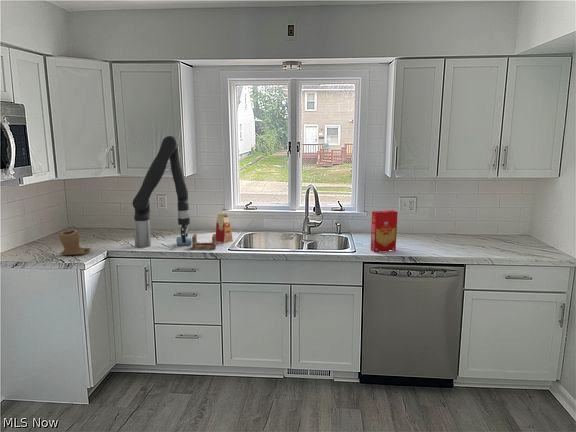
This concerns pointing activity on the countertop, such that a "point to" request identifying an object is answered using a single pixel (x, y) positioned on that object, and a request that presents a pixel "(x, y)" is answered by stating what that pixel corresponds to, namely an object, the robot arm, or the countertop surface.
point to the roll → (188, 241)
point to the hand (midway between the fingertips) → (185, 241)
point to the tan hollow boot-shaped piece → (72, 243)
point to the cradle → (203, 244)
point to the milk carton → (223, 229)
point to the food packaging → (383, 230)
